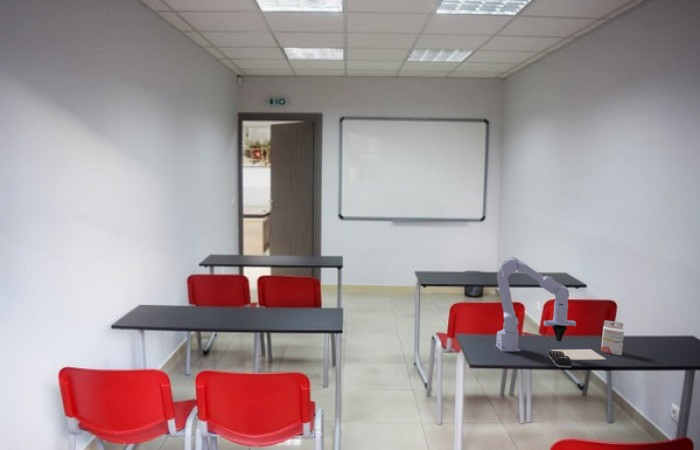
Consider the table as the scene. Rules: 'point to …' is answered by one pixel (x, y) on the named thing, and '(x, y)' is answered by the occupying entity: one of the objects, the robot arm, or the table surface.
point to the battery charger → (560, 359)
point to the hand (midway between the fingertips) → (558, 340)
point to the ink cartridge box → (612, 338)
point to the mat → (582, 354)
